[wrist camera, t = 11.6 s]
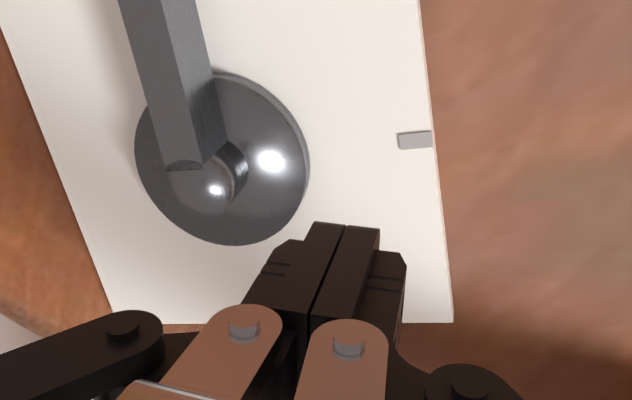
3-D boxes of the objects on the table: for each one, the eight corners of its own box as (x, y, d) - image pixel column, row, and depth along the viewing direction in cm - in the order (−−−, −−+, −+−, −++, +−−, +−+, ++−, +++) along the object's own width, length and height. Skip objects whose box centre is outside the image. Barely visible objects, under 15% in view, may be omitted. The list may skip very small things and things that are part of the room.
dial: (323, 233, 41) (302, 277, 36) (170, 237, 44) (133, 277, 40) (272, -51, 33) (238, -44, 29) (93, -20, 37) (36, -9, 32)
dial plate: (454, 310, 43) (453, 324, 42) (127, 313, 51) (116, 325, 50) (406, -113, 32) (403, -114, 31) (-2, -22, 40) (-20, -19, 39)
